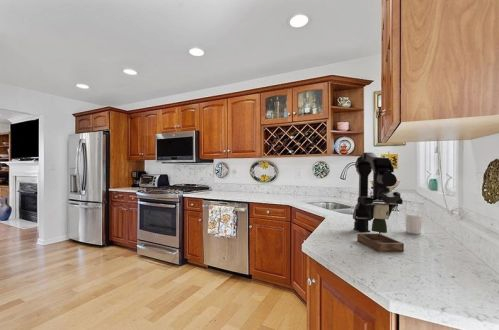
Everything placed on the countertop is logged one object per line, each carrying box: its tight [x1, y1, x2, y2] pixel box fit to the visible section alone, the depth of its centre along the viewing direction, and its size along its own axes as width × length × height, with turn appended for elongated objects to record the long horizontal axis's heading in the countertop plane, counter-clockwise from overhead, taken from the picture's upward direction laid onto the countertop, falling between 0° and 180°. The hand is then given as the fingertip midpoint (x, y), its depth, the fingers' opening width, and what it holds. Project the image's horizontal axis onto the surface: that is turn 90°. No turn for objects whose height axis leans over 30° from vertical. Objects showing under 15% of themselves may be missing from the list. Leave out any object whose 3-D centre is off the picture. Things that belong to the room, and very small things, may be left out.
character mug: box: [371, 202, 390, 234], centre depth 111 cm, size 11×7×13 cm, turn 161°
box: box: [356, 232, 405, 253], centre depth 111 cm, size 12×16×4 cm
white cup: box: [404, 212, 423, 235], centre depth 137 cm, size 8×8×10 cm
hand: (379, 219), depth 111 cm, fingers closed on character mug, 7 cm apart
